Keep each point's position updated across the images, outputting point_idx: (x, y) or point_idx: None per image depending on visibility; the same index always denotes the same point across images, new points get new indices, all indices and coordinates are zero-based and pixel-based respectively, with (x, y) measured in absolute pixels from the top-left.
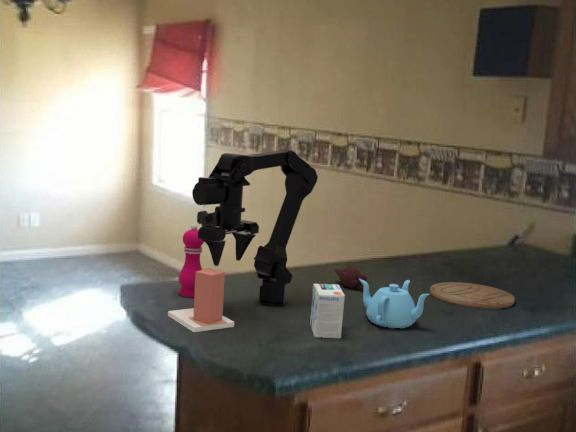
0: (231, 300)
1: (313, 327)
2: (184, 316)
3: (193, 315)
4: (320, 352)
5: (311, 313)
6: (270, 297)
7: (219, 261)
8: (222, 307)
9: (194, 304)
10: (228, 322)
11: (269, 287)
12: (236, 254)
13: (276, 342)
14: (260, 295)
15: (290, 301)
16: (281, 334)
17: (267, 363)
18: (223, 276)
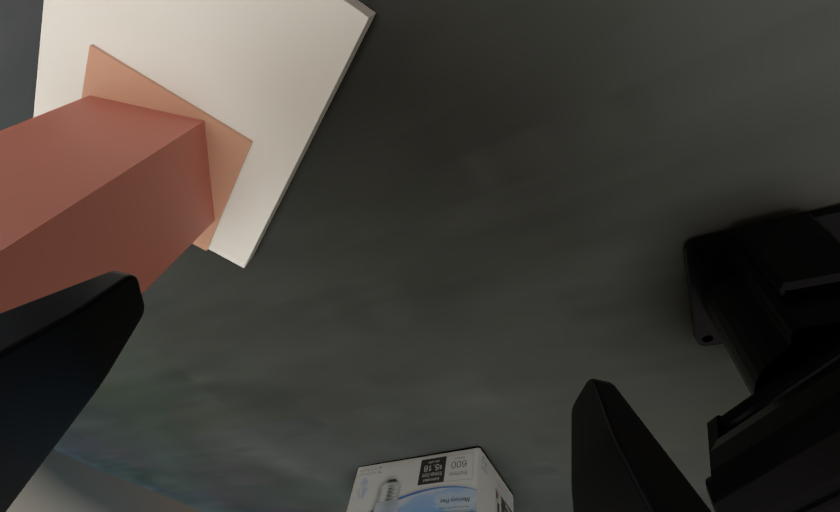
0: (729, 39)
1: (383, 480)
2: (94, 4)
3: (70, 103)
4: (257, 485)
5: (444, 497)
6: (712, 310)
7: (99, 371)
8: (174, 256)
9: (13, 130)
10: (218, 250)
11: (742, 348)
12: (604, 448)
13: (232, 403)
14: (746, 252)
15: None
16: (310, 400)
17: (85, 415)
18: None
